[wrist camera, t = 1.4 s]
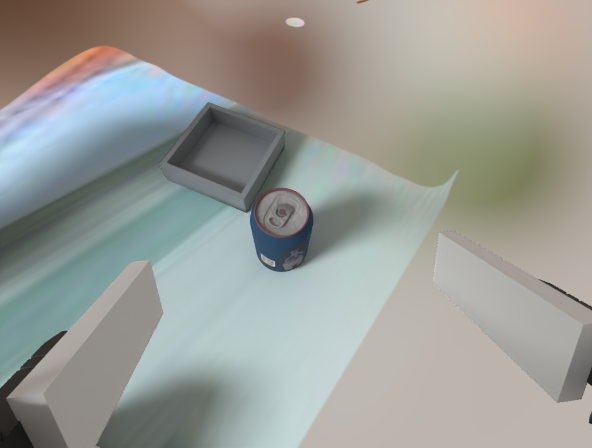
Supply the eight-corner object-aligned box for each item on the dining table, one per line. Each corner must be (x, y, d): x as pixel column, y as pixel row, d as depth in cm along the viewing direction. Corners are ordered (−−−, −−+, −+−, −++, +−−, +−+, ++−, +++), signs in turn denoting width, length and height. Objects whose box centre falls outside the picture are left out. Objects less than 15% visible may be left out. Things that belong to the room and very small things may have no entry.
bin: (167, 179, 45) (158, 164, 42) (212, 119, 51) (207, 102, 47) (246, 212, 44) (243, 200, 40) (284, 146, 49) (284, 130, 46)
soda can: (273, 219, 43) (271, 172, 33) (314, 242, 42) (326, 201, 31) (247, 258, 41) (234, 221, 30) (290, 283, 40) (293, 254, 29)
